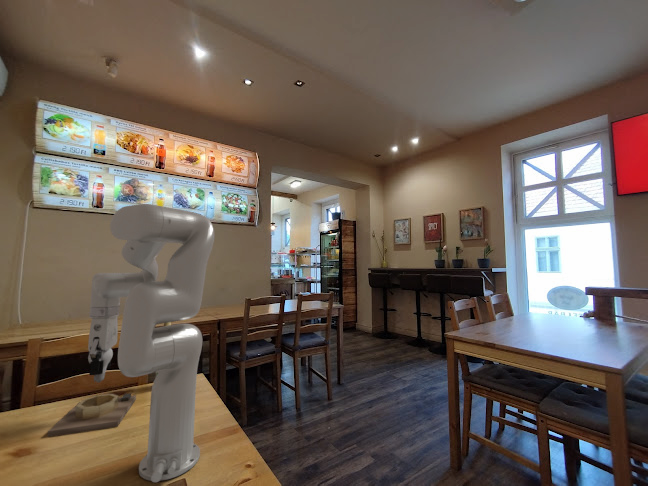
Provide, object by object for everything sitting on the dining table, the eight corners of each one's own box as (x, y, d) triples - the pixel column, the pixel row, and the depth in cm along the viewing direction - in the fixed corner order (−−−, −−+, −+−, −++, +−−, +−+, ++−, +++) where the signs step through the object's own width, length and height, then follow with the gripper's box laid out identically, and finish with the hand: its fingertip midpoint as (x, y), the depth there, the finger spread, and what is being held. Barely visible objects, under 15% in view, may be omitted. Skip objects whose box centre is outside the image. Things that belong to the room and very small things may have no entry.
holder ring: (110, 415, 86) (110, 405, 86) (70, 421, 82) (71, 410, 83) (121, 401, 95) (121, 392, 95) (85, 406, 91) (86, 396, 92)
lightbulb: (97, 387, 86) (99, 349, 86) (80, 385, 87) (83, 347, 88) (116, 379, 91) (118, 343, 92) (100, 377, 93) (102, 342, 94)
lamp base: (117, 426, 82) (118, 416, 83) (47, 436, 77) (48, 426, 78) (135, 399, 99) (136, 391, 100) (79, 406, 94) (79, 398, 94)
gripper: (108, 315, 84) (103, 379, 83) (127, 308, 101) (123, 361, 99) (77, 316, 82) (71, 382, 80) (101, 308, 98) (97, 363, 97)
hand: (100, 370), depth 90 cm, fingers closed on lightbulb, 5 cm apart
